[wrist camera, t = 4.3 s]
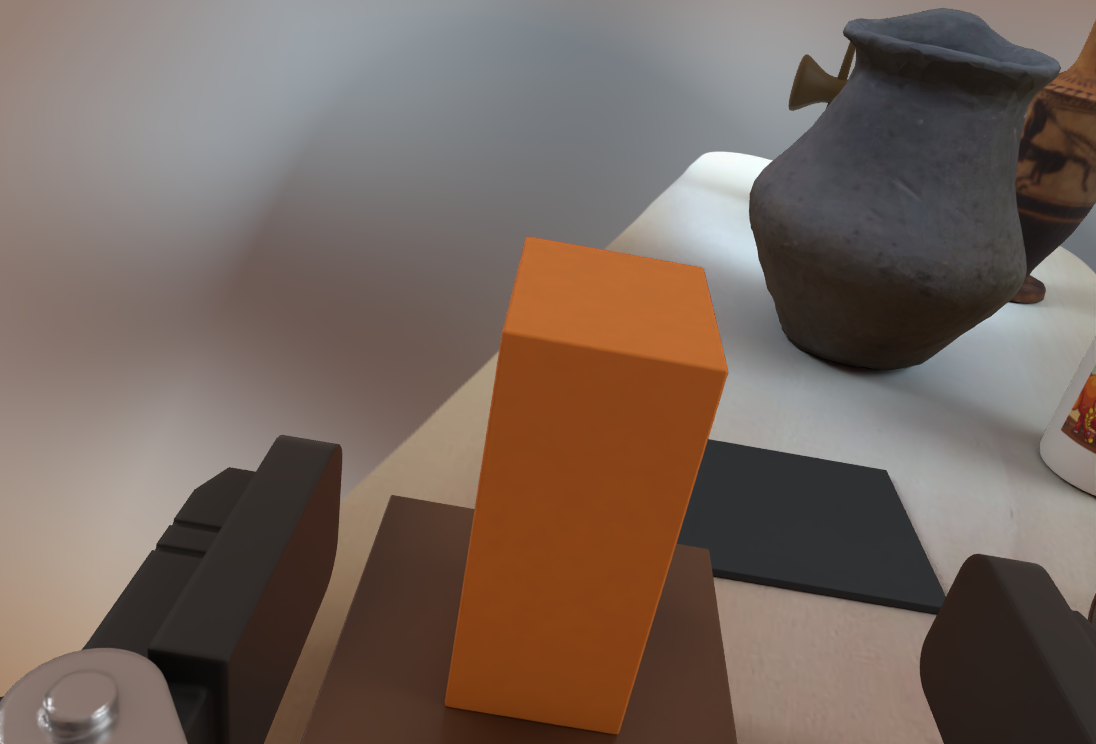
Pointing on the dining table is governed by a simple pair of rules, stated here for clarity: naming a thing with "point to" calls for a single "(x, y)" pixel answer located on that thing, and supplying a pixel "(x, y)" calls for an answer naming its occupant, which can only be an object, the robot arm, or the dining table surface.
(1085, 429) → the milk bottle
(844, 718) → the dining table surface
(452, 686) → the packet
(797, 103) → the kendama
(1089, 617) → the eyeglasses
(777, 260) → the dark grey clay pot
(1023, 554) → the dining table surface
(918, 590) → the mat
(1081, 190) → the vase
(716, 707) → the shelf
